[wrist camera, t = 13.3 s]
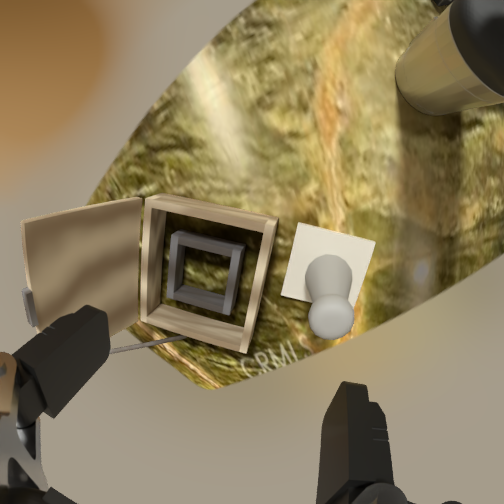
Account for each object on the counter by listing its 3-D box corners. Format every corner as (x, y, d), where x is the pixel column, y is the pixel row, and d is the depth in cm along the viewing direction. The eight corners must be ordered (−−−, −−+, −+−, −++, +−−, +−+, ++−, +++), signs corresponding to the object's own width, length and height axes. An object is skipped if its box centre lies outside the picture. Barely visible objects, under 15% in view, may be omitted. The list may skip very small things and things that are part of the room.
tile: (298, 222, 38) (298, 223, 37) (374, 241, 36) (375, 242, 36) (281, 293, 41) (280, 295, 41) (351, 309, 40) (352, 311, 39)
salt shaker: (358, 276, 38) (374, 332, 26) (321, 298, 40) (321, 359, 28) (334, 239, 37) (343, 284, 25) (296, 264, 39) (287, 316, 27)
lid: (142, 198, 35) (136, 196, 36) (17, 225, 21) (13, 222, 21) (138, 321, 42) (132, 317, 42) (46, 374, 27) (41, 369, 28)
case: (147, 190, 40) (82, 211, 27) (278, 217, 38) (259, 253, 25) (141, 308, 47) (93, 356, 34) (251, 341, 45) (227, 407, 32)
